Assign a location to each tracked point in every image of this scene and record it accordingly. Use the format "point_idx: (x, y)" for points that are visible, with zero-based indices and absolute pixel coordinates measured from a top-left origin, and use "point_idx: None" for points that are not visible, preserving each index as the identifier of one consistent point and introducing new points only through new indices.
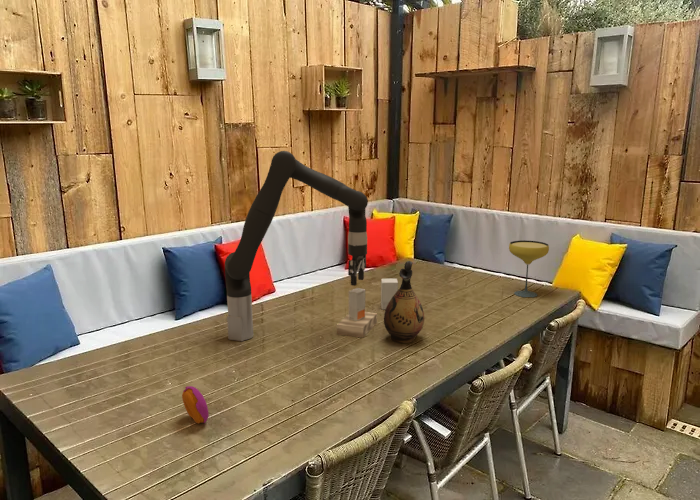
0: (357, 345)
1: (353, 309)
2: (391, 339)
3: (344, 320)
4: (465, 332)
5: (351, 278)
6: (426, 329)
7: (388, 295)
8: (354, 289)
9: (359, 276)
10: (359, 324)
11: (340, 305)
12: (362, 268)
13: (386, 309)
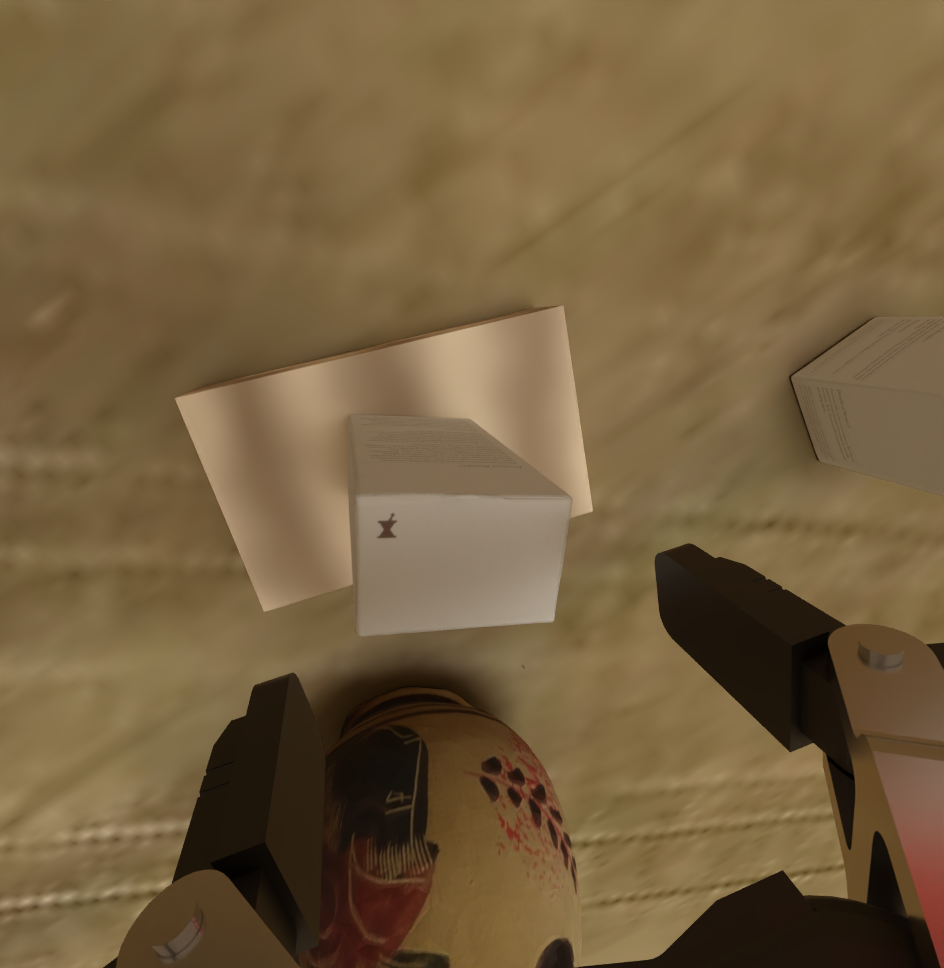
0: (131, 628)
1: (349, 497)
2: (350, 719)
3: (307, 397)
4: (634, 867)
5: (188, 854)
6: (591, 745)
7: (899, 434)
8: (473, 517)
9: (695, 600)
10: (307, 551)
11: (780, 7)
12: (840, 823)
13: (333, 889)
